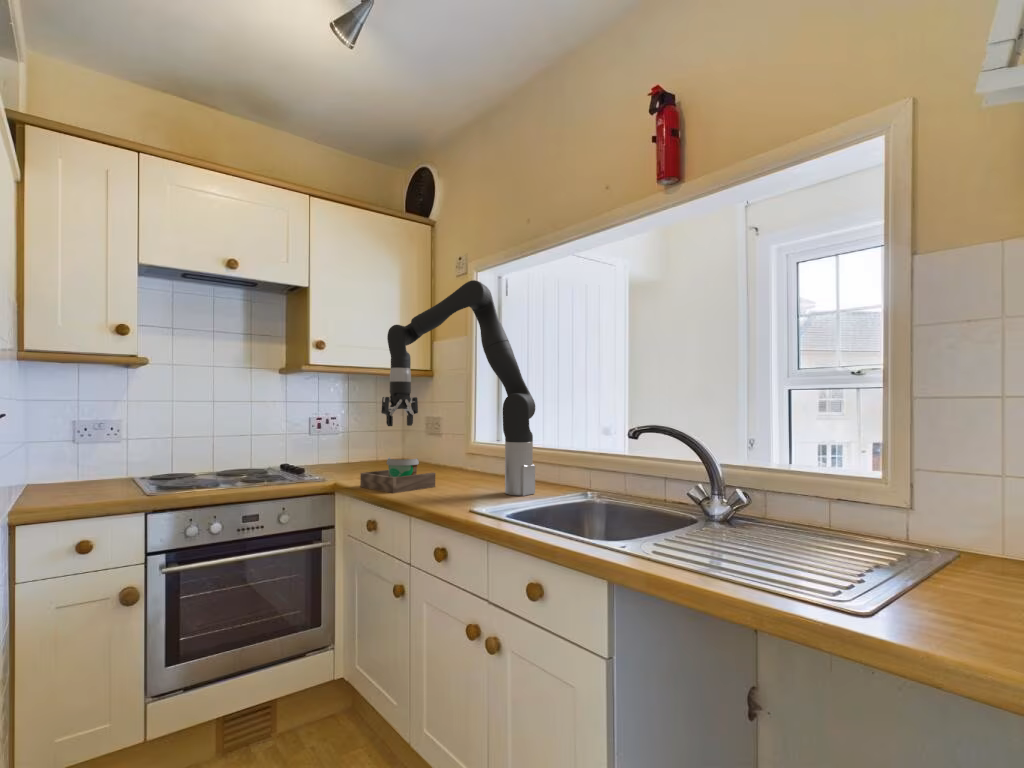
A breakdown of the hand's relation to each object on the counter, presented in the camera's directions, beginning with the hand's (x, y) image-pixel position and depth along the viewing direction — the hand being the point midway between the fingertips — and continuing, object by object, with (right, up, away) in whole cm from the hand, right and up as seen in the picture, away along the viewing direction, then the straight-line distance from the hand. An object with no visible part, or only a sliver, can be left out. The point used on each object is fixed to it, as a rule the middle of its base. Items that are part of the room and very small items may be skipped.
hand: (399, 425), depth 194 cm
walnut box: (0, -22, -1) cm, 22 cm away
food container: (0, -22, -1) cm, 22 cm away
